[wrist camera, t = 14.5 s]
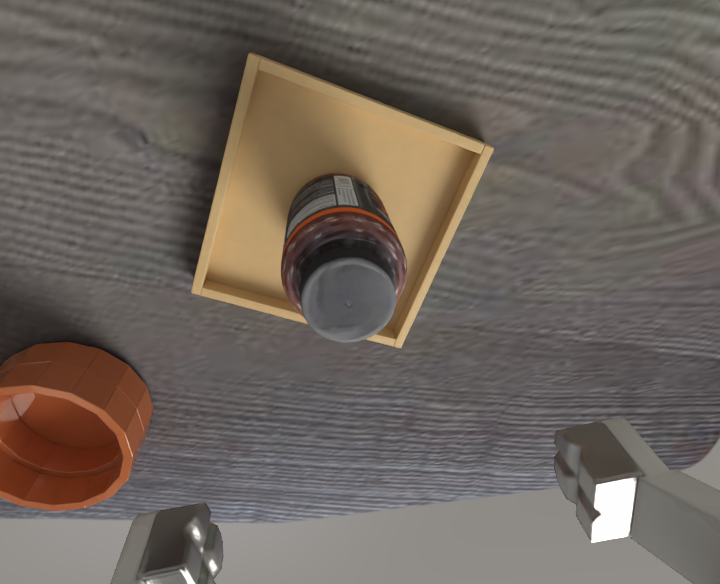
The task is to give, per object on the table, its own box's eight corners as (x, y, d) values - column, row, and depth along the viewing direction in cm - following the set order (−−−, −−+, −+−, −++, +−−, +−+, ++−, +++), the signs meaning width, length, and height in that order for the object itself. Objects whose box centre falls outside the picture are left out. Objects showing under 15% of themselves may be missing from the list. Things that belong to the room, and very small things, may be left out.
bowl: (-6, 439, 36) (-51, 495, 32) (1, 322, 32) (-49, 368, 27) (141, 466, 38) (118, 521, 34) (165, 360, 34) (144, 407, 30)
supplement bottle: (397, 242, 31) (438, 337, 21) (310, 275, 32) (311, 383, 22) (364, 154, 29) (394, 214, 19) (271, 191, 29) (250, 270, 19)
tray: (195, 281, 32) (190, 292, 30) (252, 52, 26) (248, 52, 25) (397, 335, 35) (400, 349, 34) (485, 142, 29) (495, 148, 28)
